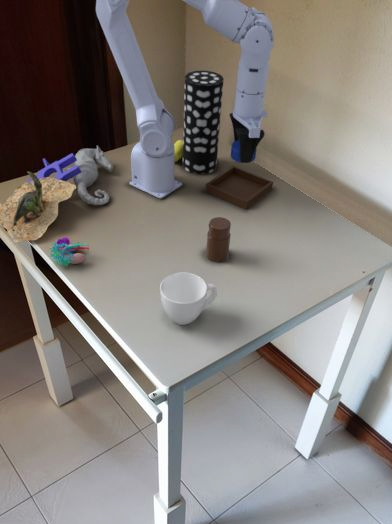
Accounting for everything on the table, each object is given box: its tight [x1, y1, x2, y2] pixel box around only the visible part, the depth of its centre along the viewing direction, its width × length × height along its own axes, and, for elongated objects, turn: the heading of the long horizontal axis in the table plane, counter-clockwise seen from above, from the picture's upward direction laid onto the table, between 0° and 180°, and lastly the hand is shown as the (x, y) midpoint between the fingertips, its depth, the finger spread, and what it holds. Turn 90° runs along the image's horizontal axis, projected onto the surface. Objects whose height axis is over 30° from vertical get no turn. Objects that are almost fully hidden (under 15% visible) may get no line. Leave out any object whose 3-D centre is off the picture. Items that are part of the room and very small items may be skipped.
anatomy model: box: [49, 237, 90, 267], centre depth 93 cm, size 5×8×7 cm
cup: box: [159, 271, 218, 326], centre depth 84 cm, size 8×10×7 cm
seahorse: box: [64, 145, 114, 206], centre depth 112 cm, size 5×12×20 cm
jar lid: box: [230, 140, 257, 164], centre depth 106 cm, size 5×5×3 cm
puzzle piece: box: [26, 152, 81, 182], centre depth 108 cm, size 10×12×2 cm
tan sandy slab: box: [0, 171, 77, 243], centre depth 100 cm, size 18×14×8 cm
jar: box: [205, 216, 232, 263], centre depth 95 cm, size 4×4×7 cm
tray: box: [205, 165, 274, 210], centre depth 114 cm, size 11×11×2 cm
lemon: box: [173, 139, 183, 163], centre depth 122 cm, size 4×8×4 cm
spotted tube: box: [182, 69, 225, 175], centre depth 114 cm, size 8×8×20 cm
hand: (242, 155), depth 107 cm, fingers closed on jar lid, 5 cm apart
